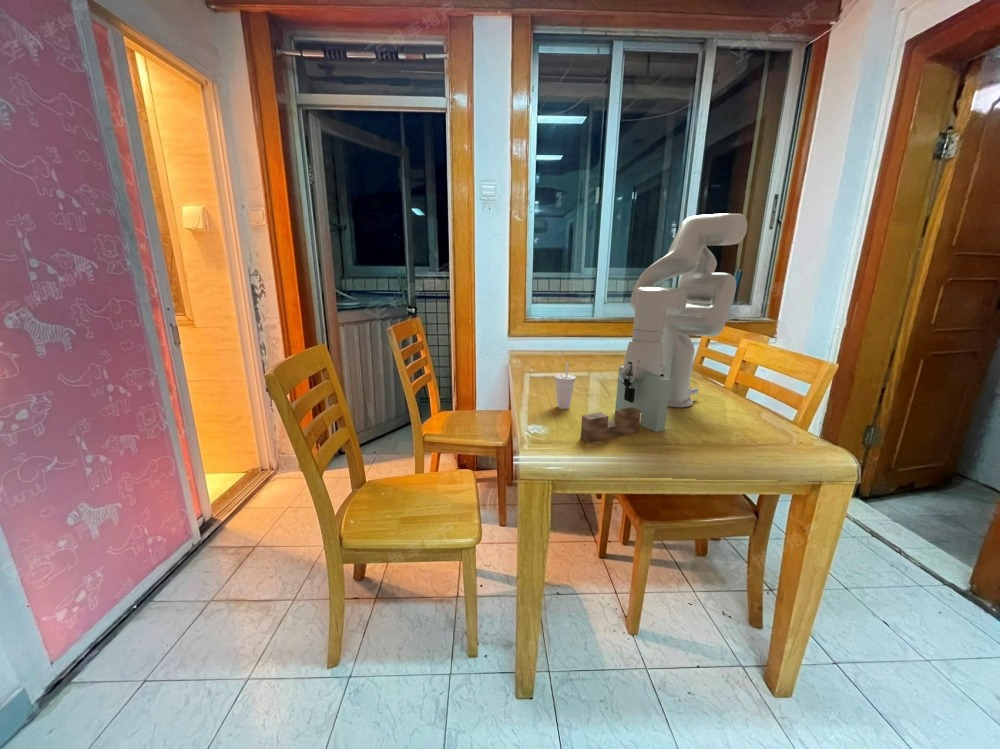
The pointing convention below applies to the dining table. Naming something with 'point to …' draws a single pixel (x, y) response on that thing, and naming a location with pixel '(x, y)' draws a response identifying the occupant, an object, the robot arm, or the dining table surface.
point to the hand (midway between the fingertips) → (640, 398)
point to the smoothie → (564, 389)
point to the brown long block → (610, 424)
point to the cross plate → (647, 400)
